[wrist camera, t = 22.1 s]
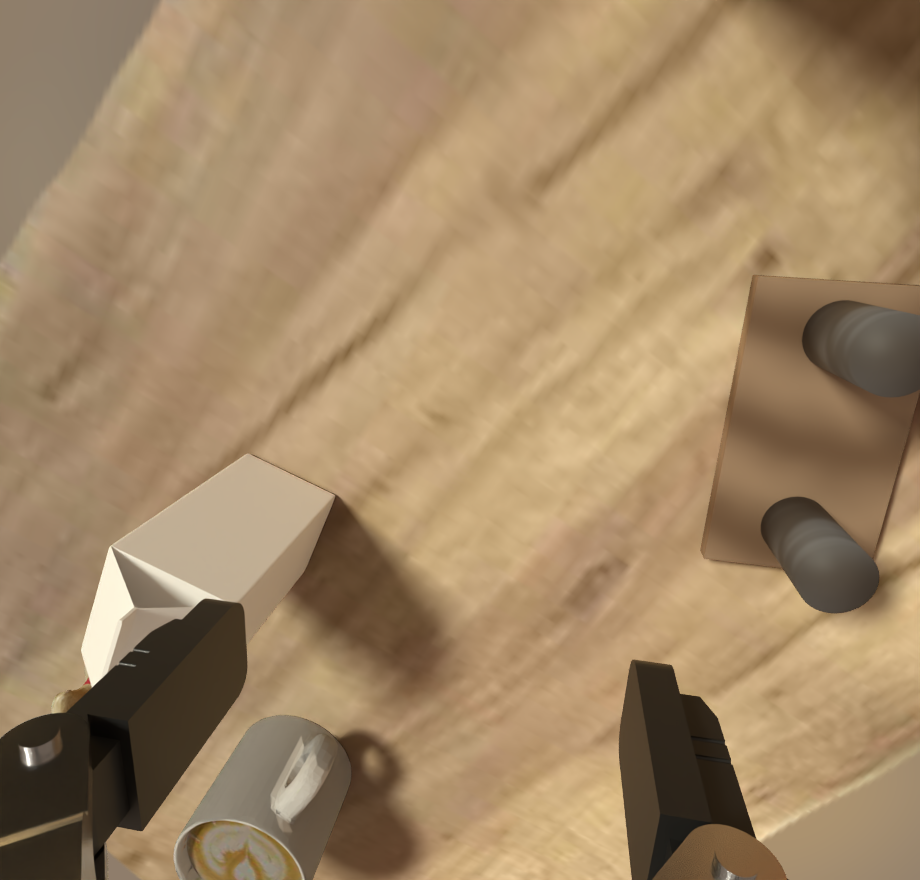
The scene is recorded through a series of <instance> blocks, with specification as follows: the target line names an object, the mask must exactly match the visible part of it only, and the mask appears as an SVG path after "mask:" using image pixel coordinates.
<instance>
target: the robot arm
mask: <svg viewBox="0 0 920 880" xmlns="http://www.w3.org/2000/svg"><path fill="white" fill-rule="evenodd" d="M246 674H247V648H246V630H245V613H244V608H243V606H242V604H240V603H236V602H229V601H222V600H215V599H208V598H206V599H203V600H201V601H200V602H199V603H198V604H197V605H196V606H195V607H194V608H193V609H192V610H191V611H190V612H189V613H188V614H187V615H186V616H185V617H184V618H183V619H182V620H181V619H174V620H172V621H170V622H168V623H166V624H164V625H162V626H161V627H159V628H157V629H155V630H153V631H151V632H150V633H149V634H148V635H147V636H146V637H145V638H144V639H143V640H142V641H141V642H139V643H138V644H137V645H136V646H135V647H134V649H133V652H131V651H130V652H129V653H128V654H127V655H126V656H125V657H124V658H123V659H122V660H121V661H119V665H115V666H114V667H113V668H112V669H111V670H110V671H109V672H108V673H107V674H106V675H105V676H104V677H103V678H102V679H101V680H99V681H98V682H97V683H96V684H95V685H94V686H93V687H92V688H91V689H90V690H89V691H88V692H87V693H86V694H85V695H84V696H83V697H82V698H81V699H79V700H78V701H77V702H76V703H75V704H74V705H73V706H72V707H71V708H70V709H69V710H68V711H67V712H66V713H52V714H47V715H42V716H39V717H36V718H33V719H30V720H28V721H26V722H24V723H22V724H20V725H18V726H16V727H14V728H13V729H11V730H10V731H8V732H7V733H6V734H4V735H3V736H2V737H1V738H0V880H108V852H107V845H106V841H107V839H108V838H109V837H110V835H111V834H112V833H113V831H114V830H115V829H116V827H122V828H127V829H132V830H137V831H143V830H144V828H145V827H146V825H147V824H148V823H149V821H150V820H151V818H152V817H153V816H154V814H155V813H156V811H157V810H158V809H159V807H160V806H161V804H162V803H163V801H164V800H165V799H166V797H167V796H168V794H169V793H170V792H171V790H172V789H173V787H174V786H175V785H176V783H177V782H178V780H179V779H180V778H181V776H182V775H183V773H184V772H185V771H186V769H187V768H188V766H189V765H190V764H191V762H192V761H193V759H194V758H195V757H196V755H197V754H198V752H199V751H200V750H201V748H202V747H203V745H204V744H205V743H206V741H207V740H208V738H209V737H210V736H211V734H212V733H213V731H214V730H215V729H216V727H217V726H218V724H219V723H220V722H221V720H222V719H223V717H224V716H225V715H226V713H227V712H228V710H229V709H230V708H231V706H232V705H233V703H234V702H235V700H236V699H237V698H238V696H239V694H240V693H241V690H242V688H243V685H244V682H245V679H246ZM619 761H620V770H621V780H622V789H623V799H624V808H625V818H626V827H627V837H628V846H629V856H630V865H631V875H632V880H788V879H787V878H786V874H785V872H784V870H783V868H782V866H781V865H780V863H779V862H778V860H777V859H776V857H775V856H774V855H773V854H772V853H771V851H770V850H769V849H768V848H766V847H765V846H764V845H763V844H762V843H761V842H759V841H758V840H757V839H756V837H755V834H754V830H753V827H752V824H751V821H750V818H749V815H748V812H747V809H746V805H745V802H744V799H743V796H742V793H741V790H740V787H739V783H738V780H737V777H736V774H735V771H734V768H733V765H731V758H730V755H729V752H728V749H727V746H726V745H725V740H724V736H723V733H722V730H721V727H720V724H719V721H718V718H717V717H716V716H715V714H714V713H713V712H712V711H711V710H710V708H709V707H708V706H707V705H706V704H705V702H704V701H703V700H702V699H701V698H700V697H698V696H691V695H684V694H680V693H679V689H678V685H677V681H676V677H675V673H674V669H673V667H672V665H668V664H660V663H653V662H646V661H639V660H632V661H631V664H630V669H629V675H628V681H627V687H626V693H625V699H624V705H623V711H622V717H621V724H620V734H619Z"/></svg>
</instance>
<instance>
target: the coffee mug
mask: <svg viewBox="0 0 920 880" xmlns="http://www.w3.org/2000/svg"><path fill="white" fill-rule="evenodd" d="M350 783H351V764H350V761H349V758H348V756H347V754H346V752H345V750H344V748H343V747H342V745H341V744H340V743H339V742H338V740H337V739H336V738H335V737H334V736H333V735H332V734H330V733H329V732H328V731H327V730H325V729H324V728H322V727H321V726H319V725H317V724H315V723H313V722H311V721H309V720H306V719H303V718H300V717H296V716H286V715H284V716H272V717H268V718H264V719H262V720H260V721H258V722H257V723H255V724H253V725H252V726H251V727H250V728H249V729H248V730H247V732H246V733H245V735H244V736H243V738H242V739H241V741H240V742H239V744H238V745H237V747H236V748H235V750H234V752H233V753H232V755H231V756H230V758H229V759H228V761H227V762H226V764H225V765H224V767H223V769H222V770H221V772H220V773H219V775H218V776H217V778H216V779H215V781H214V783H213V784H212V786H211V787H210V789H209V790H208V792H207V793H206V795H205V796H204V798H203V800H202V801H201V803H200V804H199V806H198V807H197V809H196V810H195V812H194V814H193V815H192V817H191V818H190V820H189V821H188V823H187V824H186V826H185V827H184V829H183V831H182V832H181V834H180V836H179V837H178V839H177V842H176V845H175V849H174V864H175V869H176V872H177V874H178V877H179V879H180V880H313V877H314V875H315V872H316V870H317V867H318V865H319V862H320V860H321V857H322V855H323V852H324V849H325V847H326V844H327V842H328V839H329V837H330V834H331V832H332V829H333V827H334V824H335V822H336V819H337V816H338V814H339V811H340V809H341V806H342V804H343V801H344V799H345V796H346V794H347V791H348V788H349V786H350Z"/></svg>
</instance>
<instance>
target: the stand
mask: <svg viewBox="0 0 920 880" xmlns="http://www.w3.org/2000/svg"><path fill="white" fill-rule="evenodd" d="M919 394H920V286H919V285H903V284H888V283H872V282H856V281H840V280H824V279H809V278H793V277H777V276H761V275H753V277H752V282H751V287H750V293H749V298H748V303H747V308H746V314H745V319H744V324H743V329H742V335H741V340H740V345H739V350H738V356H737V361H736V366H735V371H734V377H733V382H732V387H731V392H730V397H729V403H728V408H727V413H726V418H725V424H724V429H723V434H722V439H721V445H720V450H719V455H718V460H717V466H716V471H715V476H714V481H713V487H712V492H711V497H710V502H709V508H708V513H707V518H706V523H705V529H704V534H703V539H702V544H701V550H700V551H701V553H702V555H703V557H704V559H711V560H719V561H728V562H736V563H745V564H753V565H761V566H770V567H778V568H783V570H784V571H785V573H786V574H787V576H788V577H789V579H790V580H791V582H792V583H793V585H794V586H795V588H796V589H797V591H798V592H799V594H800V595H801V597H802V598H803V600H804V601H805V602H806V603H807V604H808V605H810V606H811V607H813V608H814V609H817V610H819V611H822V612H827V613H844V612H848V611H852V610H854V609H856V608H859V607H860V606H862V605H863V604H865V603H866V602H867V601H868V600H869V599H870V598H871V597H872V596H873V595H874V593H875V591H876V589H877V587H878V583H879V571H878V568H877V565H876V563H875V562H874V560H873V556H874V552H875V549H876V545H877V542H878V538H879V535H880V531H881V528H882V524H883V521H884V517H885V514H886V510H887V507H888V503H889V500H890V496H891V493H892V489H893V486H894V482H895V479H896V475H897V472H898V468H899V465H900V461H901V457H902V454H903V450H904V447H905V443H906V440H907V436H908V433H909V429H910V426H911V422H912V419H913V415H914V412H915V408H916V405H917V401H918V398H919Z"/></svg>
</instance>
